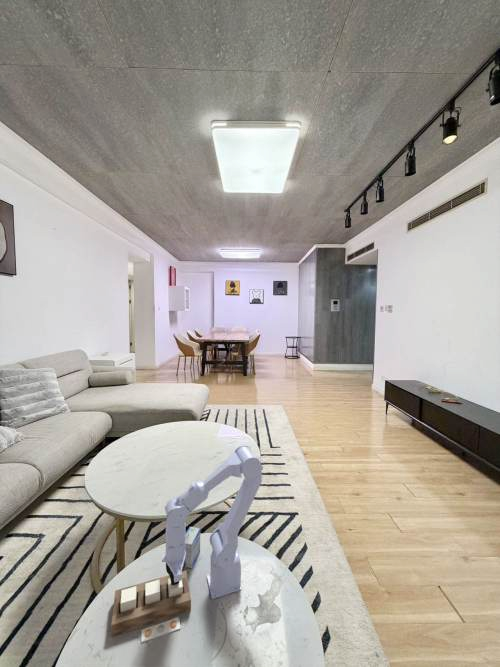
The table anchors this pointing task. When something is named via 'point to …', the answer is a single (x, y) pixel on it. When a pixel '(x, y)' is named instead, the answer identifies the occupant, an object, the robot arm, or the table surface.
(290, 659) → the table surface
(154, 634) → the pattern card
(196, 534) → the medicine box
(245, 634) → the table surface
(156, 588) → the button middle
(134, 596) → the button
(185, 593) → the board
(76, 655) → the table surface
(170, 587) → the button
